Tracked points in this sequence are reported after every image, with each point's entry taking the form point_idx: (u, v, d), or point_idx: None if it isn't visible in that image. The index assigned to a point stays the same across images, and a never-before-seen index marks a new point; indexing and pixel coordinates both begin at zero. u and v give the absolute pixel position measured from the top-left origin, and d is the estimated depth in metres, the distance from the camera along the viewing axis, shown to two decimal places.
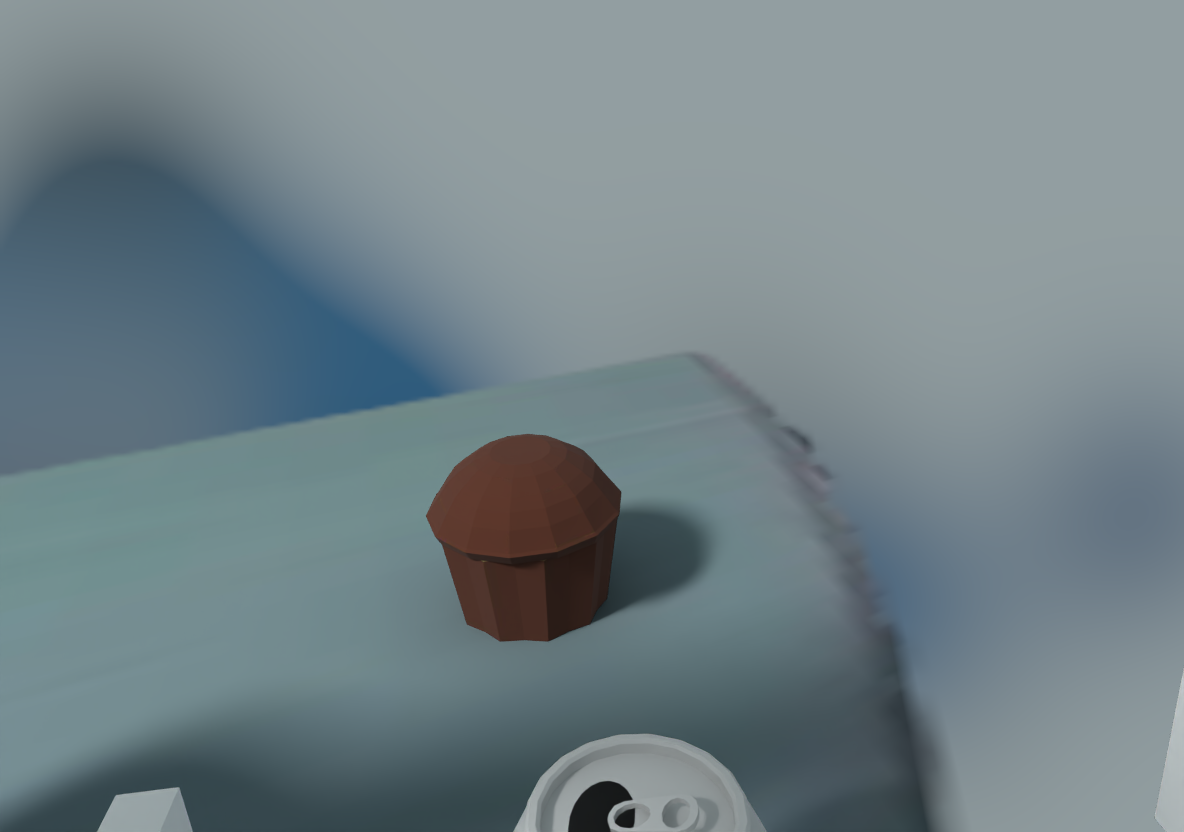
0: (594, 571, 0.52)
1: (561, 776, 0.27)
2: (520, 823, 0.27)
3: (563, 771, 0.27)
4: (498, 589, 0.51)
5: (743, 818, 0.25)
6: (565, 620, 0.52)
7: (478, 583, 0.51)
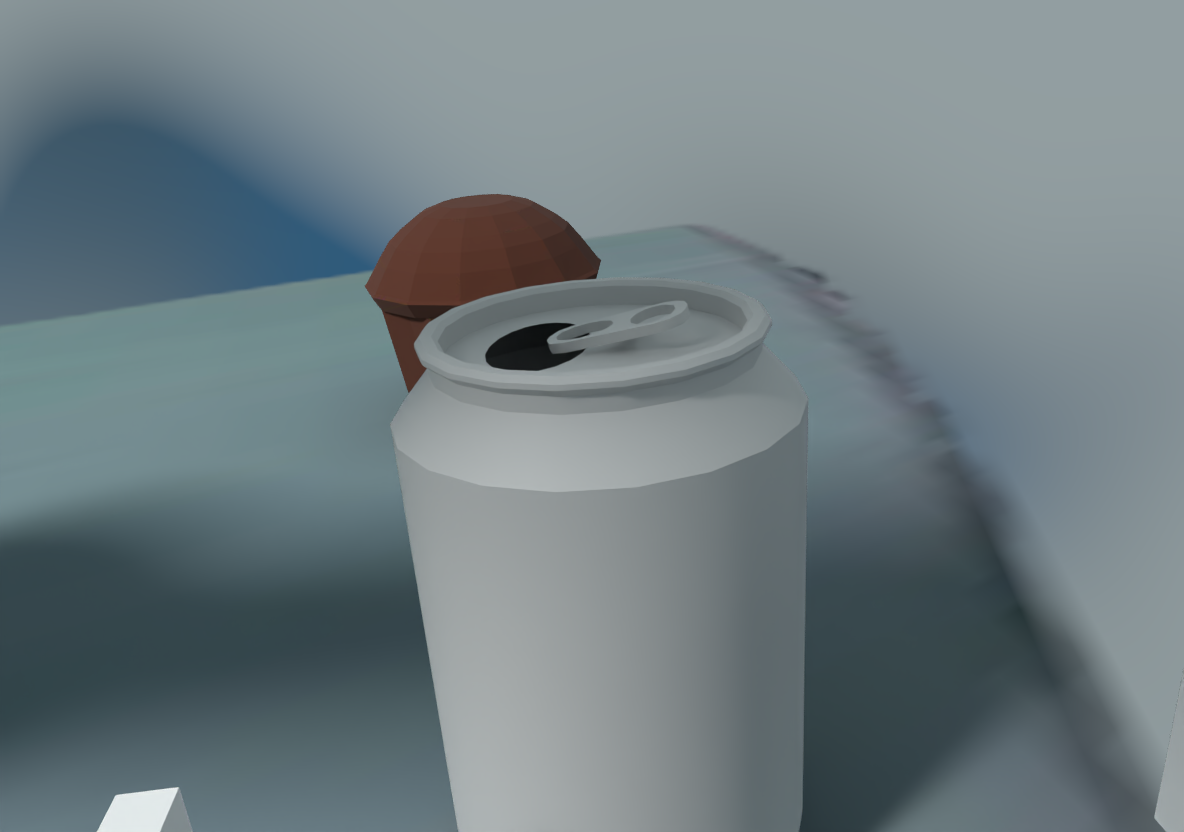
0: None
1: (481, 316, 0.18)
2: None
3: (484, 309, 0.18)
4: None
5: (759, 313, 0.16)
6: None
7: None
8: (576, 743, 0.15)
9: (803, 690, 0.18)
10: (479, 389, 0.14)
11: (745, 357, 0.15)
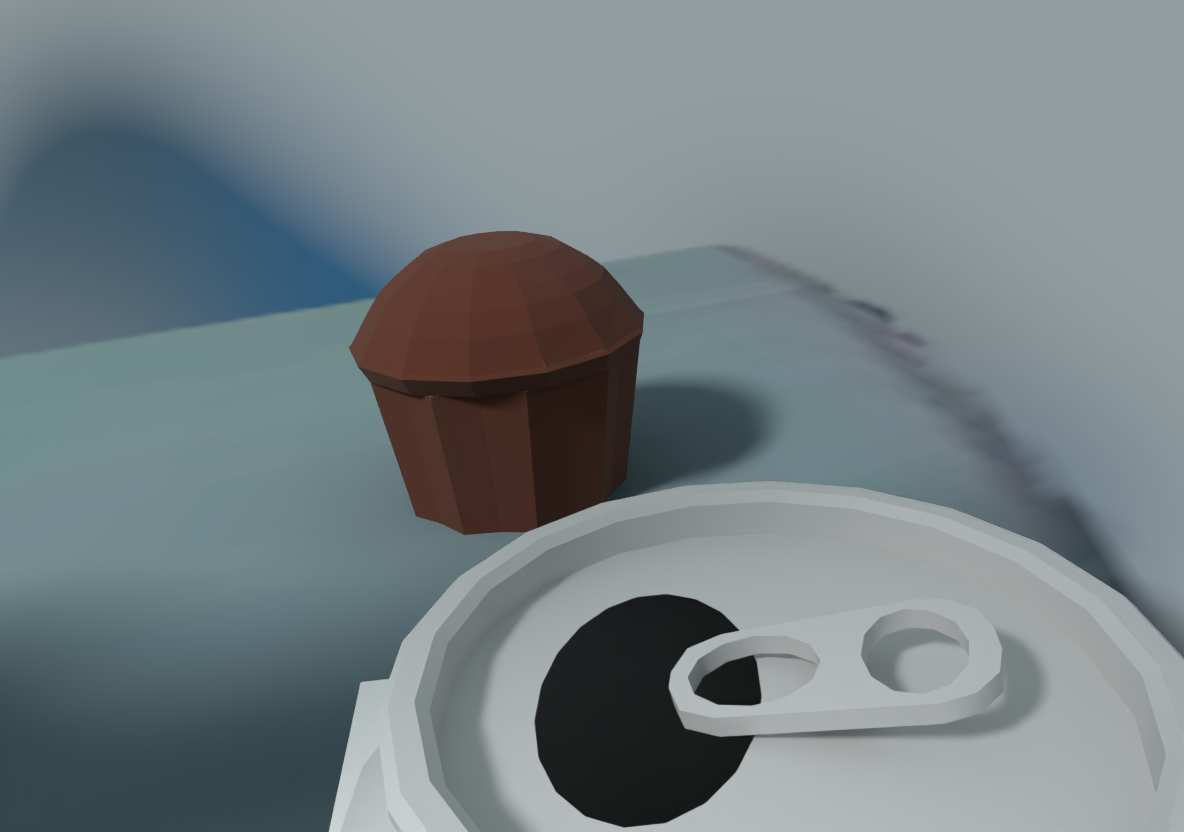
0: (606, 421, 0.34)
1: (520, 582, 0.09)
2: None
3: (526, 567, 0.09)
4: (456, 446, 0.32)
5: (1168, 659, 0.07)
6: (563, 500, 0.34)
7: (427, 440, 0.33)
8: None
9: None
10: None
11: None
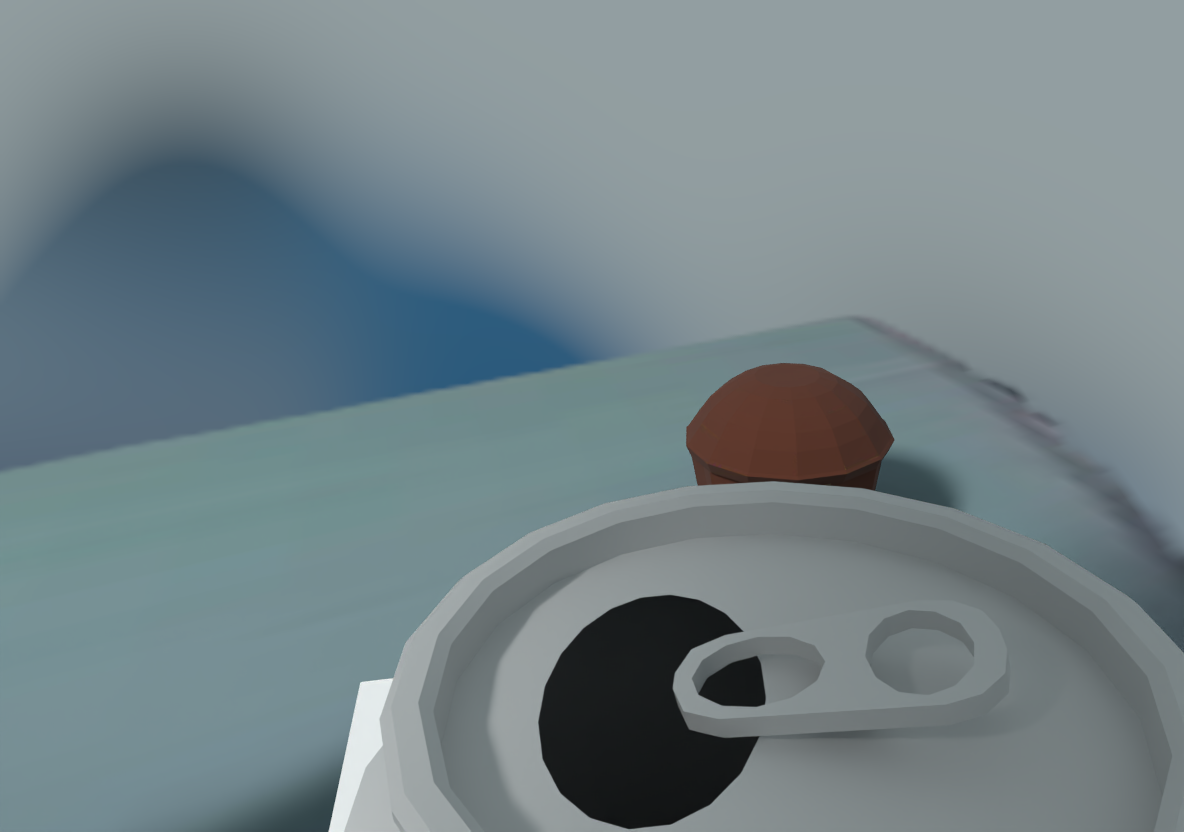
0: None
1: (523, 583, 0.09)
2: None
3: (529, 568, 0.09)
4: None
5: (1174, 660, 0.07)
6: None
7: None
8: None
9: None
10: None
11: None
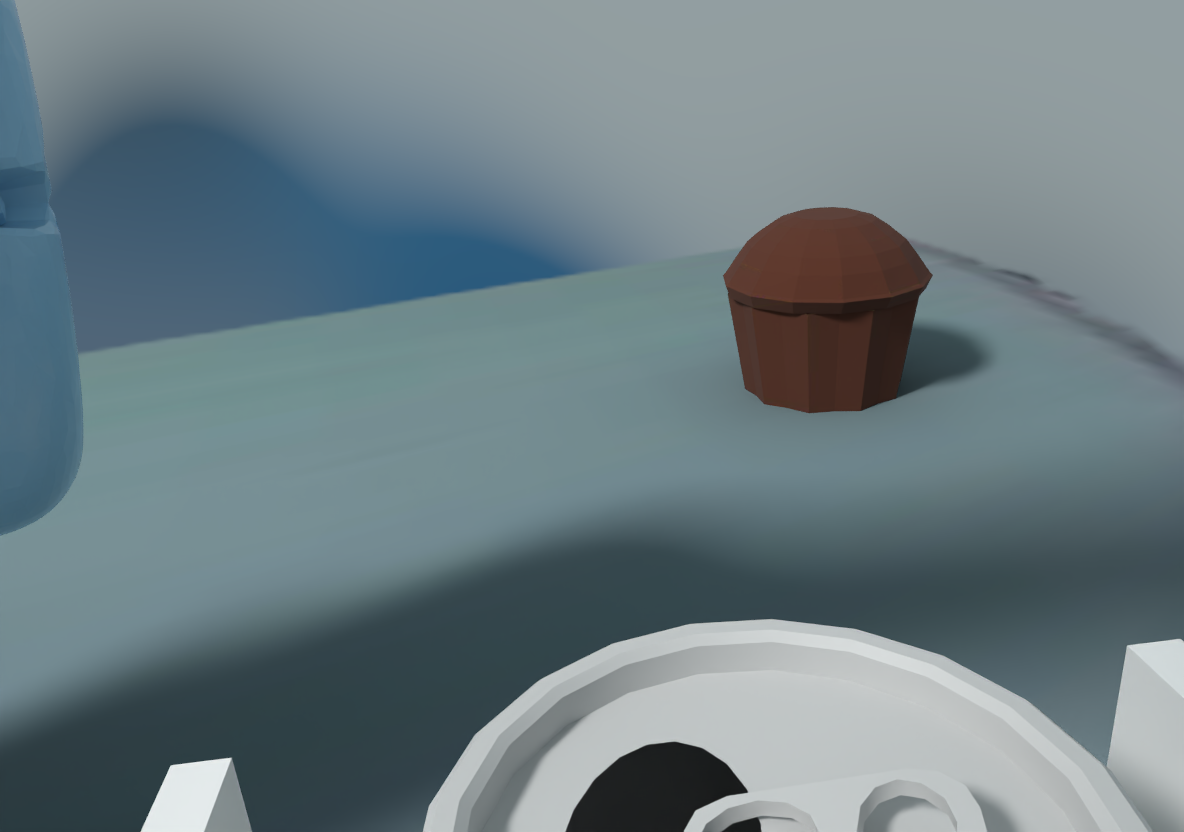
0: (909, 334, 0.50)
1: (536, 732, 0.10)
2: None
3: (542, 718, 0.10)
4: (817, 349, 0.48)
5: None
6: (876, 389, 0.50)
7: (793, 346, 0.49)
8: None
9: None
10: None
11: None
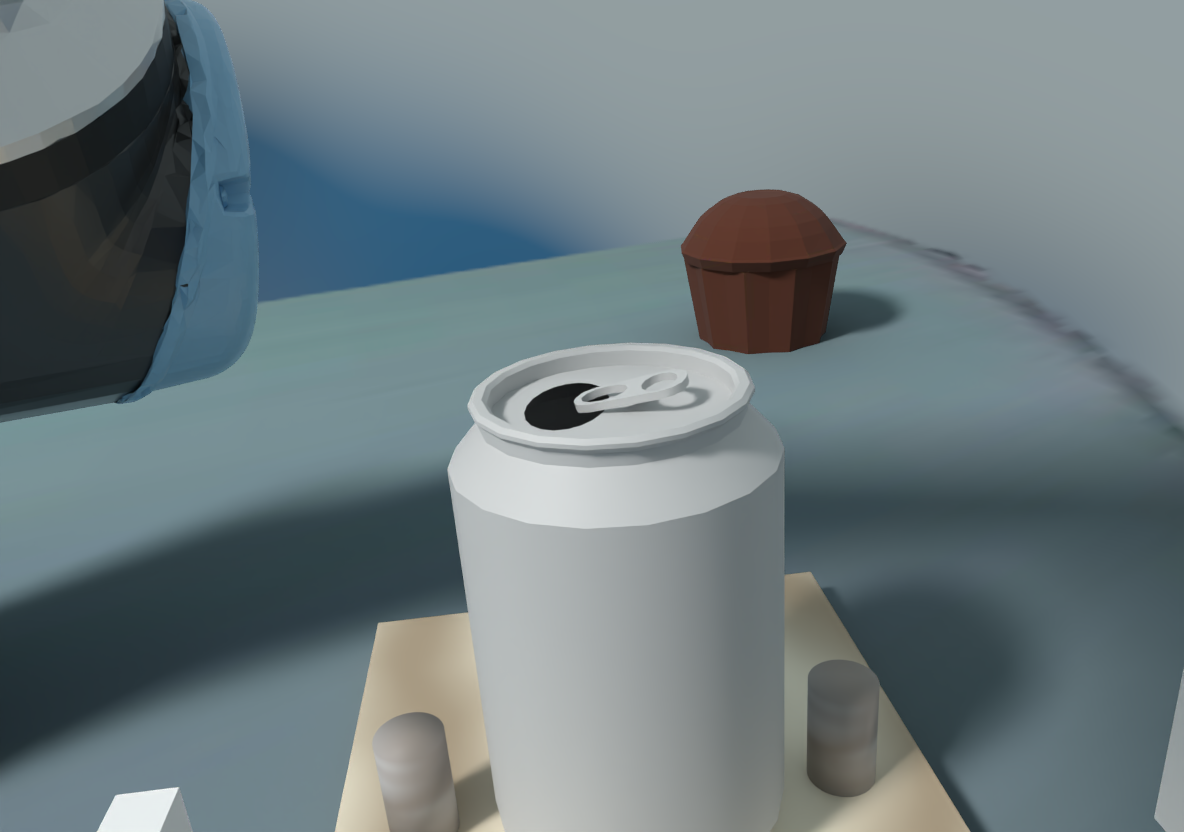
0: (827, 290, 0.62)
1: (518, 378, 0.22)
2: None
3: (520, 372, 0.22)
4: (752, 301, 0.61)
5: (744, 381, 0.20)
6: (802, 334, 0.63)
7: (734, 299, 0.61)
8: (600, 725, 0.19)
9: (783, 685, 0.22)
10: (524, 446, 0.18)
11: (733, 419, 0.19)
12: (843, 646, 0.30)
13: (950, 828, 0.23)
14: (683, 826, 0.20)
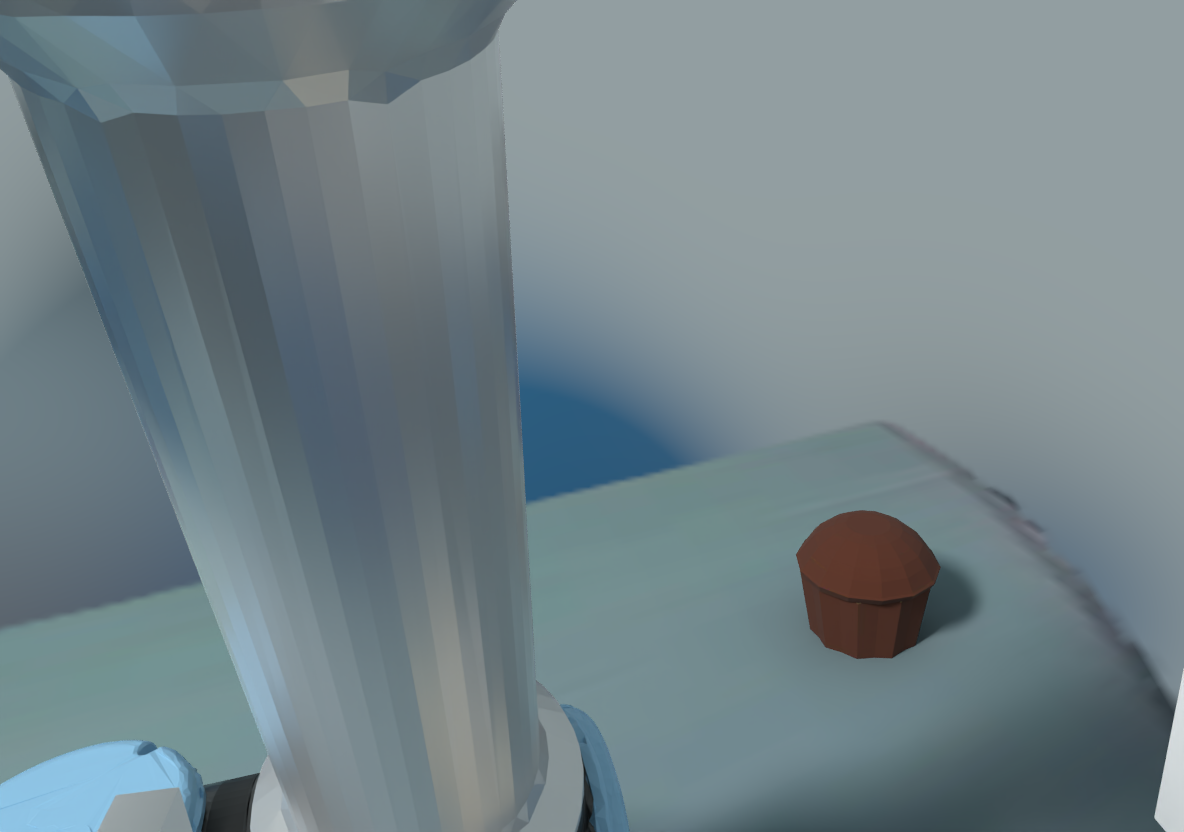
0: (924, 608, 0.74)
1: None
2: None
3: None
4: (864, 622, 0.73)
5: None
6: (902, 643, 0.75)
7: (847, 618, 0.73)
8: None
9: None
10: None
11: None
12: None
13: None
14: None
